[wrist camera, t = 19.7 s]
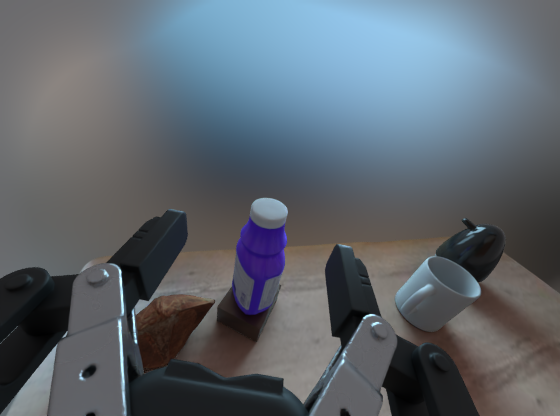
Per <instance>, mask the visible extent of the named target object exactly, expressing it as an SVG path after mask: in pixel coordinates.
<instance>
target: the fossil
mask: <svg viewBox="0 0 560 416" xmlns="http://www.w3.org/2000/svg"><path fill="white" fill-rule="evenodd" d="M214 303H215V300H212V299H207V298H201V297H196V296H191V295H183V294H181V295H170V296H160V297H158V298H156V299H154V300H153V301H152V302H151V303H150V304H149V305H148V306H147V307H146V308H145V309H143V310H142V311H140V312H139V313H138V314H137V315H136V324H137V334H138V343H139V350H140V355H141V359H142V364H143V368H148V369H153V368H157V367H162V366H165V365H166V364H168V363H169V361H170V359H173V358H174V357H175V356H176V355H177V354H178V352H179V351H180V350H181V349H182V347H183V346H184V345H185V343H186V341H187V339H188V337H189V336H190V334H191V333H192V332H193V330H194V329H195V328H196V327H197V326H198V324H199V323H200V322H201V320H202V319H203V318H204V316H205V315H206V314H207V312H208V311H209V310H210V308H211V307H212V306H213V304H214Z"/></svg>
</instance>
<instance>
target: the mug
mask: <svg viewBox="0 0 560 416" xmlns="http://www.w3.org/2000/svg"><path fill="white" fill-rule="evenodd" d="M480 295H481V288H480V286H479V284H478V282H477V281H476V280H475V278H474V277H473V276H472V275H471V274H470V273H469V272H467V271H466V270H465V269H464V268H462V267H461V266H459V265H458V264H456V263H454V262H452V261H450V260H448V259H445V258H442V257H437V256H432V257H429V258H428V259H426V260H425V261H424V263H423V264H422V265H421V266H420V267H419V268H418V269H417V271H416V272H415V273H414V274H413V275H412V276H411V277H410V279H409V280H408V281H407V282H406V283H405V284H404V285H403V286H402V287H401V289H400V290H399V291H398V292H397V294H396V296H395V301H396V305H397V307H398V309H399V311H400V313H401V314H402V315H403V316H404V318H405V319H406V320H407V321H409V322H410V323H411V324H412V325H414V326H415V327H417V328H419V329H421V330H424V331H428V332H434V331H437V330H439V329H440V328H441V327H442V326H444V325H445V324H446V323H447V322H448V321H450V320H451V319H452V318H453V317H455V316H456V315H457V314H459V313H460V312H461V311H462V310H464V309H465V308H466V307H468V306H469V305H470V304H471V303H473V302H474V301H475V300H477V299H478V298H479V297H480Z"/></svg>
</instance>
